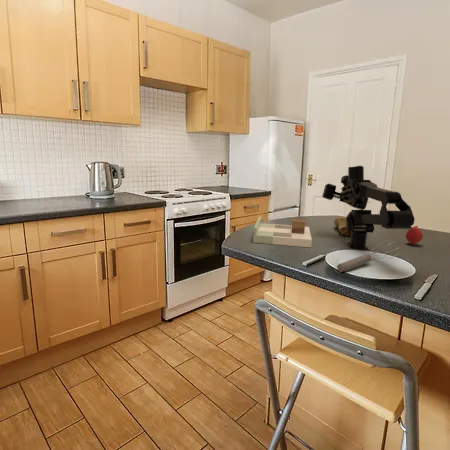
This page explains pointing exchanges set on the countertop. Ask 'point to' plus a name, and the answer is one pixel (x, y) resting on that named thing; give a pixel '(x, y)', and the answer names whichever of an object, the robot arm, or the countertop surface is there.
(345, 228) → the sponge
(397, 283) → the countertop surface
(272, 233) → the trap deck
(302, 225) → the block
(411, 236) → the onion
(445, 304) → the countertop surface
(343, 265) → the kitchen whisk
